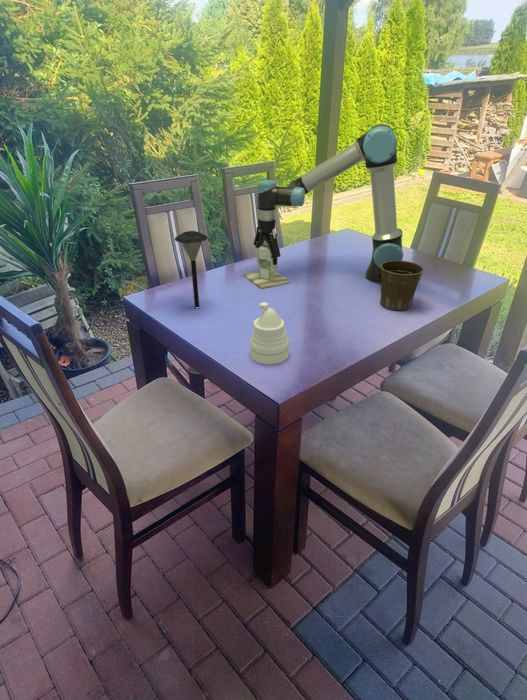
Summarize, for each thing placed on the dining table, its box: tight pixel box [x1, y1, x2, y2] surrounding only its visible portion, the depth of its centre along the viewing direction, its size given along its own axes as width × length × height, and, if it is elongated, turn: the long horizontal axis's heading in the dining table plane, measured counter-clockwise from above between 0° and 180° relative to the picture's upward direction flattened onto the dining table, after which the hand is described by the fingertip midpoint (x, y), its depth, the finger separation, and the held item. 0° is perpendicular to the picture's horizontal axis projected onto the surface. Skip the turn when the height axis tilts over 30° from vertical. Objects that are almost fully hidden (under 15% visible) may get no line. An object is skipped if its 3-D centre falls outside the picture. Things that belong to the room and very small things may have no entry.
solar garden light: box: [174, 230, 209, 308], centre depth 170 cm, size 12×12×30 cm
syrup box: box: [258, 244, 274, 280], centre depth 200 cm, size 6×6×14 cm
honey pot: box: [249, 301, 290, 366], centre depth 143 cm, size 13×13×18 cm
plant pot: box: [379, 260, 424, 312], centre depth 177 cm, size 16×16×16 cm
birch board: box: [242, 270, 291, 290], centre depth 204 cm, size 18×15×1 cm
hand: (266, 266), depth 201 cm, fingers open, 13 cm apart
